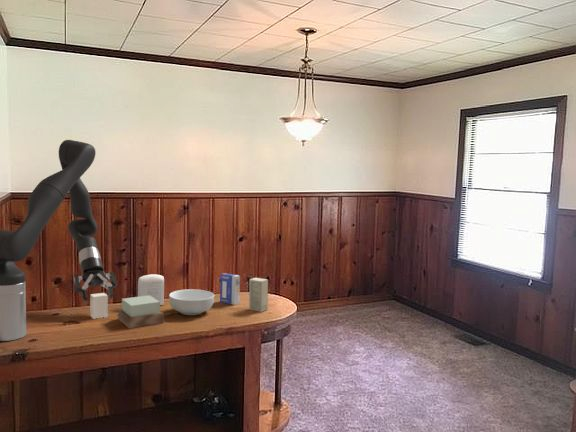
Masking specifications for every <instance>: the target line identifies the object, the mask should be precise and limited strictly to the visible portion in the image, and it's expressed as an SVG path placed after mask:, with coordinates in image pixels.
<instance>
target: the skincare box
mask: <svg viewBox="0 0 576 432" xmlns="http://www.w3.org/2000/svg"><path fill="white" fill-rule="evenodd" d="M268 280H269V279H267V278H263V277H262V278H261V277H253V278H249V280H248V281H249V285H248V286H249V288H248V289H249V293H248V294H249V296H248V297H249V299H248V300H249V301H248V302H249V304H248V305H249V306H248V308H249V310H251V311H256V312H260V313H261V312H264V311H267V310H268V309H269V307H268V301H269V299H268V294H269V292H268V291H269V289H268V286H269V281H268Z"/></svg>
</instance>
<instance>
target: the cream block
mask: <svg viewBox="0 0 576 432" xmlns="http://www.w3.org/2000/svg"><path fill="white" fill-rule="evenodd" d="M89 297H90V298H89V299H90V301H89V305H90V306H89V308H90V310H89V311H90V313H89V314H90V315H89V316H90V317H91V319H93V320H96V318H97V319H103V317H104V318H108V315H109V310H108V306H109V305H108V301H109V295H108V294H106V292H101V293H100V292H99V293H92V294H91V293H90V296H89Z"/></svg>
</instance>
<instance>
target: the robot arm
mask: <svg viewBox="0 0 576 432" xmlns="http://www.w3.org/2000/svg"><path fill="white" fill-rule="evenodd" d="M95 157H96V148H95V147H94V146H93V145H92V144H89V143H87V142H83V141H78V140H73V139H65V140H63V141H62V142H61V144H60V145H59V147H58V160H59V163H60V167H61V170H59V171H57V172H54V173H53V174H50V175H48V176H47V177H45V178H44V179H42V180H41V181H39V183H37V185H36V186H35V188H34V189H33V190H32V191H31V193H30V195H29V196H28V199H27V214H26V217H25V219H24V220H23V222H22V223H21V224H20V226H19V227H18V228H17V229H16V230H5V229H3V230H2V229H0V342H5V341H6V342H8V341H9V342H10V341H15V340H18V339H19V340H20V339H21V338H24V337H26V335H27V305H26V303H27V299H26V297H27V296H26V294H27V293H26V292H27V291H26V287H27V286H26V273H25V272H24V271H23V270H21V268H19V267H18V266H17V265H16V264H15V262H20V261H23V260H24V259H25V258H27V257H28V256H29V254H30V253H31V252H32V250H33V248H34V246H35V245H36V243H37V241H38V239H39V237H40V235H41V233H42V231H43V229H44V228H45V227H46V225H47V223H48V222H49V221H50V219H51V217H52V216H53V215H54V214H55V212H56V211H57V210H58V209H59V207H60V205H61V204H62V203H63V201H64V200H65V198H66V197H67V195H68V194H69V200H70V201H69V202H70V209H71V214H72V215H73V216H74V217H75V218H78V219H73V220H70V221H69V223H68V226H67V229H68V232H69V234H70V236H71V237H72V240H73V241H74V243H75V244H76V248H77V251H78V260H79V261H78V262H79V265H80V271H81V274H82V275H78V274H75V275H74V278H73V285H74V292H75V293H80V294H81V299H82V300H83V301H84V302H85V303H86V302H88V301H89V296H88V293H87V289H88V288H89V287H100V286H101V287H103V288H104V289H106V290H107V293H108V294H107V295H108V300H109V299H113V297H114V295H115V293H114V290H113V289H116V287H117V285H118V283H117V282H118V281H117V279H116V276H115V273H114V272H113V271H110V272H107V273H106V272H105V270H104V267H103V262H102V261H103V260H102V258H101V253H100V251H99V248H98V243H97V241H96V238H95V237H93V236H95V235H96V234H97V233H98V229H99V227H98V224H97V221H96V219H95V217H94V215H93V211H92V207H91V196H90V193H89V190H88V188H87V186H86V185H85V184H84V182H83V181H82V179H81V177H82V176H83V175H84V174H85V172H87V170H89V168H90V167H91V166H92V164H93V162H94V161H95ZM81 281H82V282H84V284H83V285H82V286H80V283H81Z"/></svg>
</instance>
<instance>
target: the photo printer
mask: <svg viewBox="0 0 576 432" xmlns="http://www.w3.org/2000/svg"><path fill="white" fill-rule="evenodd" d="M148 295H150V296H151V297H153V298H155V299H156V300H158V301H159V302H160V306H163V305H165V304H164V302H165V299H164V298H165V278H164V275H160V274H155V273H153V274H146V275H142V276H140V277H139V278H138V281H137V297H140V296H148Z"/></svg>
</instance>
